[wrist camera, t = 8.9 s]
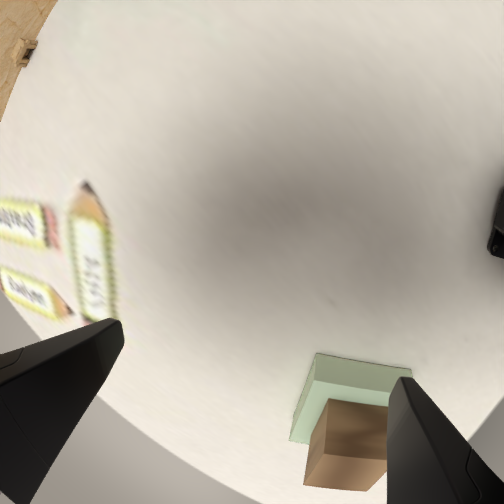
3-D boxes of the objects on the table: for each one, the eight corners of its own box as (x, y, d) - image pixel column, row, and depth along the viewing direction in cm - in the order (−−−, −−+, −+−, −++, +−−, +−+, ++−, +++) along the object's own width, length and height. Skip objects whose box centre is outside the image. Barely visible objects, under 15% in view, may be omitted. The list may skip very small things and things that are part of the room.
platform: (410, 369, 22) (416, 395, 19) (374, 428, 25) (375, 453, 22) (316, 353, 23) (313, 380, 20) (293, 415, 26) (288, 440, 23)
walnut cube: (391, 406, 20) (396, 460, 15) (366, 442, 22) (366, 491, 17) (328, 398, 20) (323, 453, 16) (310, 435, 22) (303, 484, 18)
